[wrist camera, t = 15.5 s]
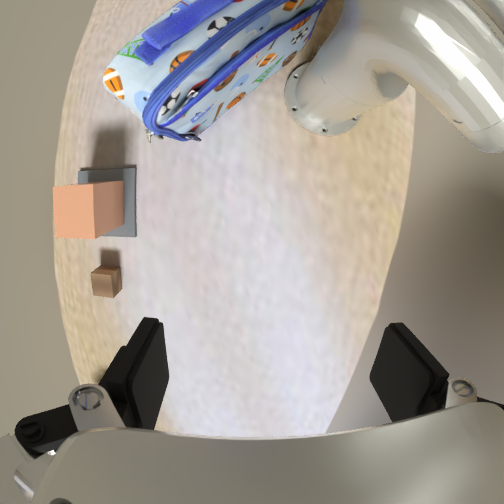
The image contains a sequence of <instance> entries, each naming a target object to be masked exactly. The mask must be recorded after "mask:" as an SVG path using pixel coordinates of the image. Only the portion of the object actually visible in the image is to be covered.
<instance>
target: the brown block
mask: <svg viewBox="0 0 504 504" xmlns="http://www.w3.org/2000/svg"><path fill="white" fill-rule="evenodd" d="M91 281H92V289H93V295H95V296H102V297H109V298H114V297H115V296H116V295H117V294H118V293H119V292H120V291H121V289H122V283H121V270H120V267H111V266H99V267H98V268H97V269H95V270H94V271H93V272H91Z"/></svg>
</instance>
